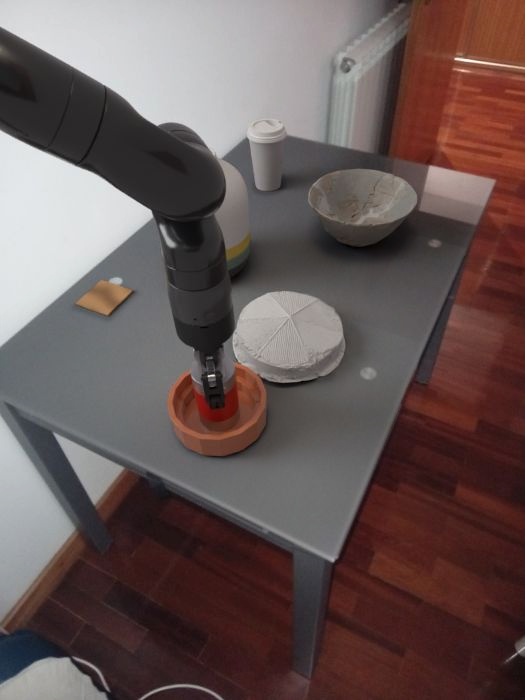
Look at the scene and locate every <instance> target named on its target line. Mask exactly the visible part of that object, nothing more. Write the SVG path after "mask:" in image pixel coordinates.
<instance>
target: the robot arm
mask: <svg viewBox="0 0 525 700" xmlns="http://www.w3.org/2000/svg"><path fill="white" fill-rule="evenodd" d="M0 131H1V132H2V133H4V134H6V135H8V136H10V137H12V139H13V138H14V139H15V140H17V141H19V142H21V143H23V144H25V145H27V146H29V147H32V148H34V149H36V150H39V151H40V152H43V153H45V154H46V155H49V156H52V157H53V158H56V159H59V160H60V161H62V162H64V163H68V164H69V165H72V166H74V167H77V168H79V169H81V170H84V171H85V172H86V171H87V172H89V173H91V174H94V175H96V176H97V177H99V178H100V179H102V180H104V181H105V182H107V183H108V184H109V185H110V186H112V187H113V188H115V189H117V190H118V191H119V192H121V193H123V194H124V195H125V196H128V197H129V198H130V199H132V200H134V201H135V202H137V203H138V204H139V205H142V206H143V207H145V208H146V209H148V210H150V212H151V215H152V218H153V221H154V224H155V227H156V230H157V234H158V239H159V246H160V254H161V258H162V263H163V267H164V273H165V277H166V289H167V297H168V301H169V306H170V310H171V314H172V320H173V323H174V324H173V325H174V328H175V333H176V335H177V337H178V339H179V340H180V341H181V342H182V343H183V344H184V345H186V346H188V347H190V348H192V349H193V355H194V361H195V360H196V361H197V363H198V370H199V377H200V380H201V381H202V383H203V388H204V393H205V401H206V403H207V404H208V403H209V407H210V409H212V410H216V409H223V408H224V407H225V398H226V395H224V391H225V387H223V378H225V376H226V374H225V366H224V357H225V355H226V353H225V344H224V343H226V342H228V341H229V339H230V338H231V337H233V334H234V331H236V319H235V318H236V317H235V309H234V298H233V297H234V296H233V287H232V281H231V277H229V273H228V269H227V259H226V249H225V242H224V237H223V234H222V231H221V228H220V226H219V224H218V222H217V220H216V218H215V215H214V214H215V213H216V212H217V211H218V209H219V208H220V207H221V205H222V203H223V201H224V198H225V195H226V179H225V175H224V172H223V169H222V167H221V165H220V163H219V162H218V160H217V159H216V157H215V156H214V155H213V154H212V152H211V151H210V149H209V148H210V147H209V146H207V144H206V143H205V141H204V140H203V139H202V137H201V136H200V135H199V134H198V133H197V132H196V131H195V130H194V129H192V128H191V127H189V126H187V125H185V124H183V123H179V122H174V121H173V122H172V121H171V122H169V121H168V122H163V123H160V124H158V125H157V124H155V123H153V122H151V121H150V120H148V119H147V118H146V117H144V116H143V115H142V114H140V113H139V112H138V111H137V109H135V108H134V106H133V105H132V104H131V103H130V102H129V101H128V100H127V99H126V98H124V97H123V96H122V95H120V94H119V93H118V92H116V90H114V89H112V88H111V87H109V86H107V85H105V84H103V83H102V82H100V81H99V80H97V79H95V78H93V77H92V76H90V75H89V74H86V73H85V72H83V71H81V70H79V69H78V68H76V67H75V66H72V65H71V64H69V63H67V62H65V61H63V60H62V59H60V58H59V57H56V55H55V56H54V55H53V54H51V53H49V52H48V51H46V50H44V49H42V48H41V47H38V46H36V45H35V44H33V43H31V42H29V41H28V40H26V39H25V38H22V37H20V36H18V35H17V34H15V33H13V32H11V31H9V30H8V29H5V28H4V27H2V26H0ZM219 358H220V366H221V368H220V370H218V371H215V368H216V367H218V366H219ZM202 365H203V367H204V368H206V369H207V372H205V371H203V367H202Z"/></svg>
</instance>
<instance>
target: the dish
mask: <svg viewBox="0 0 525 700" xmlns="http://www.w3.org/2000/svg"><path fill="white" fill-rule="evenodd" d="M233 362H234V365H235V374H236V380H237V390H238V399H239V411H240V416H239V419H238V421H237V423H236V424H235V425H234V426H233V427H231V428H230V429H228V430H225V431H212V430H209V429H207V428H206V427H205V426H204V425H203V424H202V423H201V420H200V416H199V412H198V408H197V403H196V399H195V394H194V389H193V384H192V378H191V373H190V369H188V370H187V371H185V372H184V373H182V374H181V375H180V376H179V377H178V379H177V380H176V381H175V382H174V384H173V385H172V386H171V388H170V390H169V394H168V398H167V401H166V402H167V403H166V405H167V409H168V413H169V417H170V422H171V424H172V428H173V431H174V435H175V437H176V438H177V439H178V441H180V442H181V443H182V444H183V446H184V447H185V448H186V449H188V450H191V451H193V452H195V453H197V454H200V455H201V456H214V457H225V456H228V455H233V454H234V453H238V452H242V451H243V450H245V449H246V448H247V447H248V446H250V445H252V444H253V443H254V442H256V440H258V439H259V437H260V436H261V433H262V432H263V430H264V428H265V426H266V425H267V419H268V417H267V416H268V396H267V395H268V393H267V389H266V387H265V384H264V382H263V379H262V377H260V376H259V374H258V375H257V374H256V373H254V372H253V371H252V370H251V369H250V368H249V367H247V366H244V365H241V363H239V362H236V361H233Z"/></svg>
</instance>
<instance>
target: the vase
mask: <svg viewBox="0 0 525 700" xmlns="http://www.w3.org/2000/svg"><path fill="white" fill-rule="evenodd" d="M208 148H209V149H210V151H211V152H212V154H213V155H214V156H215V157H216V159H217V160H218V162H219V163H220V165H221V167H222V169H223V172H224V175H225V179H226V195H225V198H224V201H223V203H222V205H221V207H220V208H219V209H218V211H217V212H216V213H215V214H214V215H215V218H216V220H217V222H218V224H219V226H220V228H221V231H222V234H223V237H224V242H225V249H226V259H227V269H228V273H229V277H230V278H231V277H234V276H235V275H237V274H239V272H241V271H242V269H244V267H245V266H246V264H247V262H248V259H249V257H250V254H251V246H252V245H251V241H252V239H251V220H250V219H251V218H250V201H249V193H248V192H249V191H248V187H247V185H246V181H245V180H244V177H243V175H242V174H241V173H240V171H239V170H238V169H237V168H236V167H234V166H233V164H231V163H229V162H228V161H226V160H224V159H221V158H220V157H218V155H217V153H216V150H215V149H213V148H211V147H208Z"/></svg>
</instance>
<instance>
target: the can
mask: <svg viewBox="0 0 525 700" xmlns="http://www.w3.org/2000/svg"><path fill="white" fill-rule="evenodd" d="M234 362H235V361H233V359H232V358H231V357H230V356H229V355H227V354H225V357H224V366H225V374H226V376H225V378H223V387H225V391H224V395H226V398H225V407H224V408H223V409H216V410H212V409H210V407H209V403H208V404H207V403H206V401H205V393H204V388H203V383H202V381H201V380H200V377H199V370H198V363H197V361H196V360H195V359H194V361H193V362H192V363H191V365H190V369H189V370H190V373H191V378H192V384H193V389H194V394H195V399H196V403H197V408H198V412H199V416H200V420H201V423H202V424H203V425H204V426H205V427H206V428H207V429H209V430H212V431H225V430H228V429H230V428H231V427H233V426H234V425H235V424H236V423H237V421H238V419H239V416H240V411H239V399H238V390H237V380H236V374H235V365H234ZM202 367H203V365H202ZM220 368H221V366H220V358H219V366H218V367H216V368H215V371H218V370H220ZM203 371H205V372H207V369H206V368H204V367H203Z"/></svg>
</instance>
